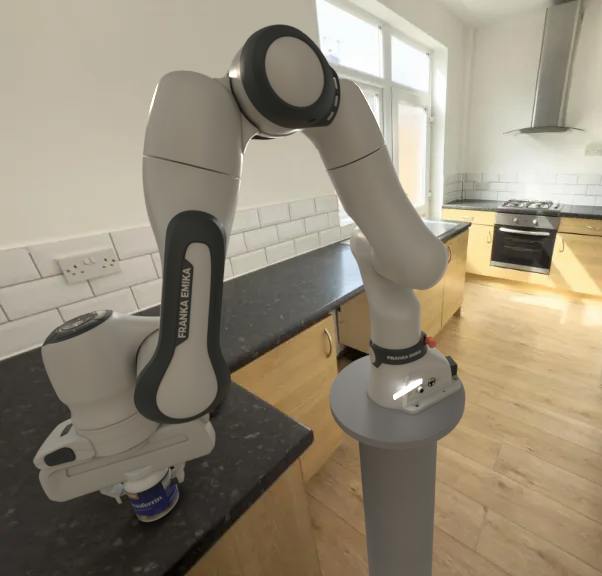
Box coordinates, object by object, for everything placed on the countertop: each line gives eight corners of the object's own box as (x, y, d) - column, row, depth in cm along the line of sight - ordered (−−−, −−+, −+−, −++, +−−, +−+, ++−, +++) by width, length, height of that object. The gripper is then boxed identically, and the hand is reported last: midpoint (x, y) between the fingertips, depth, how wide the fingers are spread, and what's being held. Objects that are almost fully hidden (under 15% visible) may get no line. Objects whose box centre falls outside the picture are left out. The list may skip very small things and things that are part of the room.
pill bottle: (130, 528, 48) (107, 482, 44) (147, 493, 53) (127, 449, 50) (173, 518, 49) (153, 472, 46) (185, 484, 54) (168, 440, 51)
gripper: (206, 387, 51) (225, 450, 56) (42, 429, 44) (81, 497, 49) (202, 413, 46) (224, 480, 51) (14, 466, 39) (62, 538, 44)
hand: (153, 489), depth 50 cm, fingers closed on pill bottle, 5 cm apart
